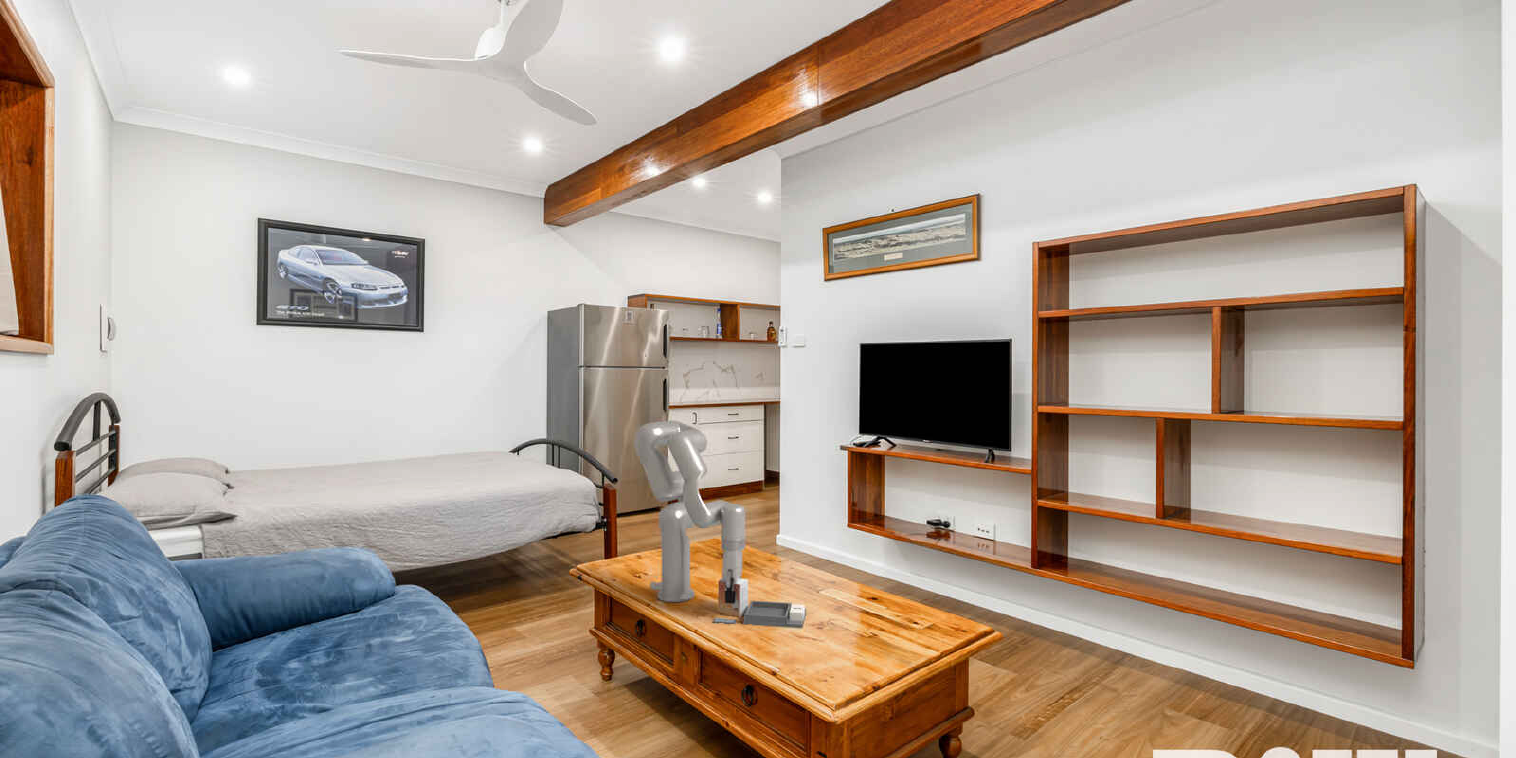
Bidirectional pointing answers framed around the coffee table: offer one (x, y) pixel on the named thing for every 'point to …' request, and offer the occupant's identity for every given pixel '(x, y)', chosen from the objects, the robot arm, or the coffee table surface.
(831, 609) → the coffee table surface
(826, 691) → the coffee table surface
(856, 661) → the coffee table surface
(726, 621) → the phone
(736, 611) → the small box
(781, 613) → the grey tray
